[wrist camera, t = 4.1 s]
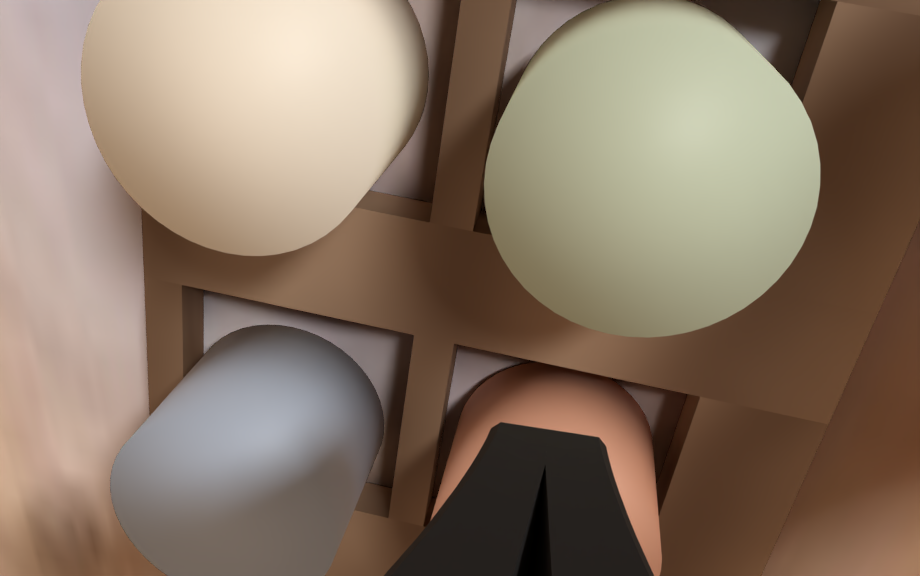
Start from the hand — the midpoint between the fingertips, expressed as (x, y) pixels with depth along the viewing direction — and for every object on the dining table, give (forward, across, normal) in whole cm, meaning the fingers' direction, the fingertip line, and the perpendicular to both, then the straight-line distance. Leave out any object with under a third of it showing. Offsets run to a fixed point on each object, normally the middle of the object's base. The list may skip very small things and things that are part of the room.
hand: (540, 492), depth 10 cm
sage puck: (+8, -1, -3) cm, 9 cm away
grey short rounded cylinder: (+8, +7, +6) cm, 12 cm away
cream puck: (+8, +6, -3) cm, 11 cm away
